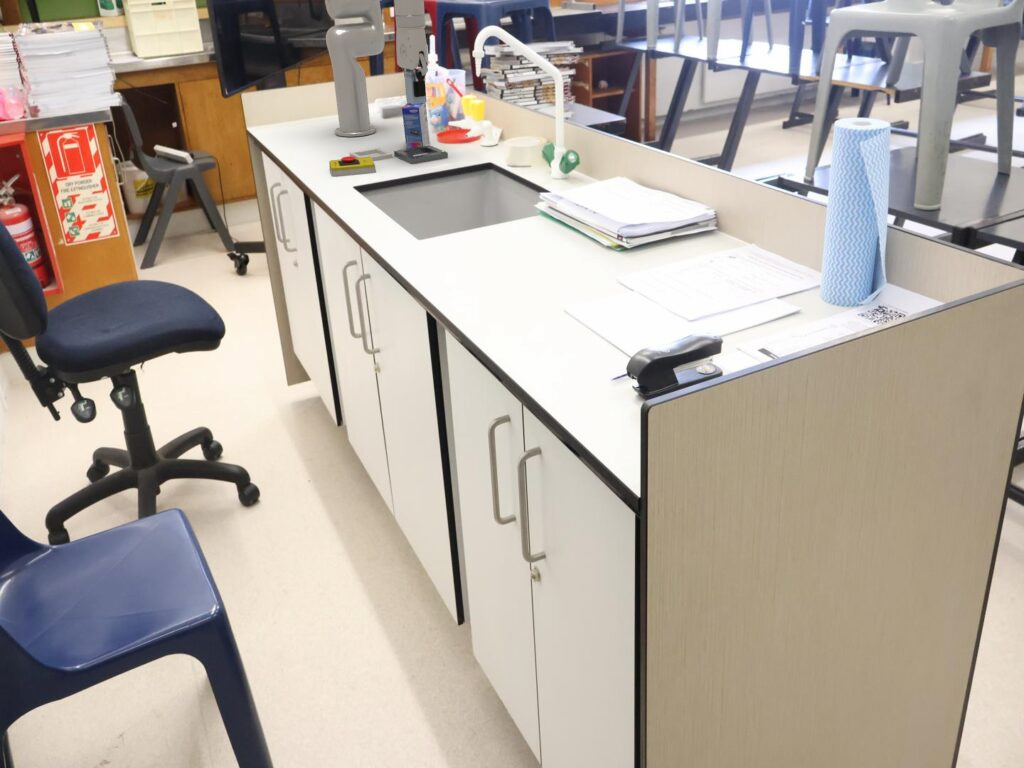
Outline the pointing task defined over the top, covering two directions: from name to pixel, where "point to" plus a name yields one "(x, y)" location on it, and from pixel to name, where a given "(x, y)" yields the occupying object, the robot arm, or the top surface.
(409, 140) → the ink cartridge box
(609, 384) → the top surface
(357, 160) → the emergency button
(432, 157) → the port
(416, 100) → the plug
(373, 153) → the grey square tray
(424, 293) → the top surface
